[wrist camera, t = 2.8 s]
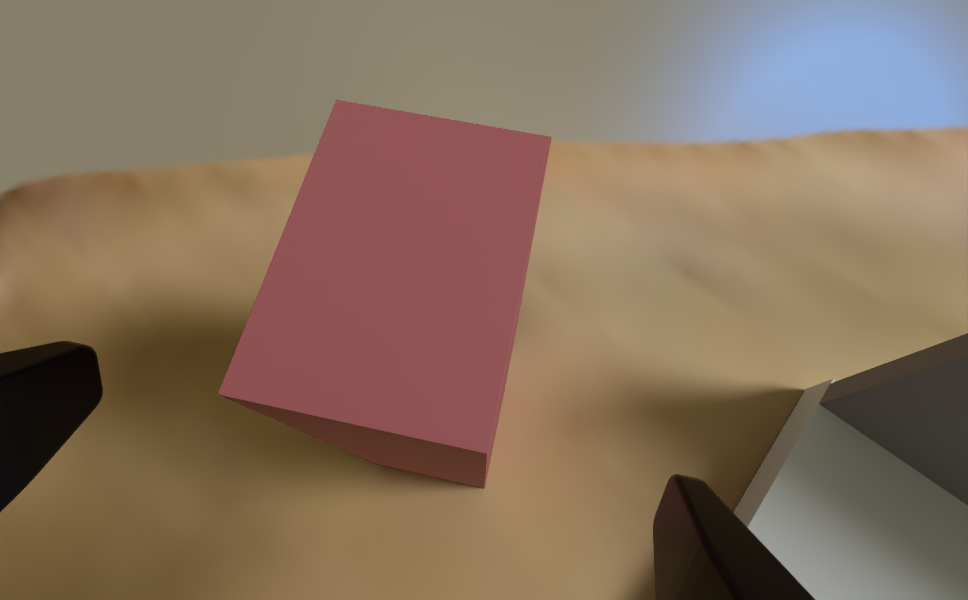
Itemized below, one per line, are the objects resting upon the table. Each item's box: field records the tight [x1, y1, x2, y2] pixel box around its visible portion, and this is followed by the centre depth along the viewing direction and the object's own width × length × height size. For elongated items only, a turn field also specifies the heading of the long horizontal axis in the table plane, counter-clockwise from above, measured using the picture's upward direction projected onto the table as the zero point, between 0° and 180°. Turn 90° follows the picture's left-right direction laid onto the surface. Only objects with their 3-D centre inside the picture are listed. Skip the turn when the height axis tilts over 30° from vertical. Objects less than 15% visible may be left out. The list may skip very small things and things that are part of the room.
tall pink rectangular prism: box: [218, 100, 551, 488], centre depth 13 cm, size 5×4×11 cm
